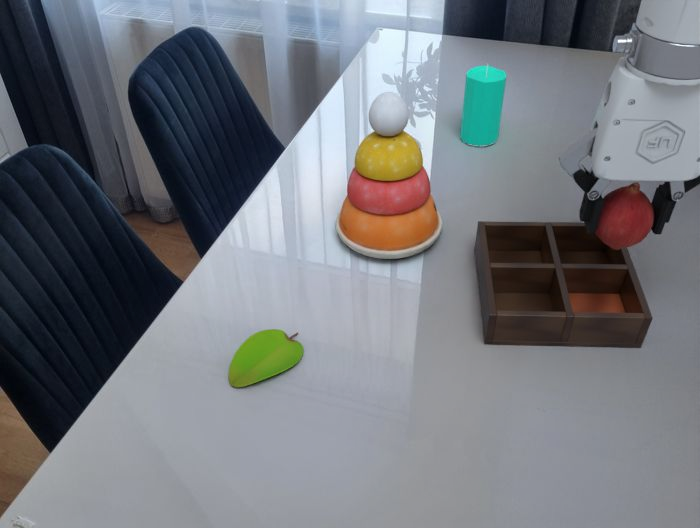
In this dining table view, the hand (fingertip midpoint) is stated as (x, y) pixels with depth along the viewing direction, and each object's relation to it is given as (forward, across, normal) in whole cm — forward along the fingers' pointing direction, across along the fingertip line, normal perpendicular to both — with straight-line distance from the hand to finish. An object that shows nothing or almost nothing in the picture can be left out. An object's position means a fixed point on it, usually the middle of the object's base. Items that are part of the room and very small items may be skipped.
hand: (621, 224), depth 70 cm
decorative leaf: (+13, -37, -8) cm, 40 cm away
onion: (+3, 0, 0) cm, 3 cm away
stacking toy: (+14, -24, +16) cm, 32 cm away
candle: (+14, -10, +42) cm, 45 cm away
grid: (+13, -4, +4) cm, 15 cm away
